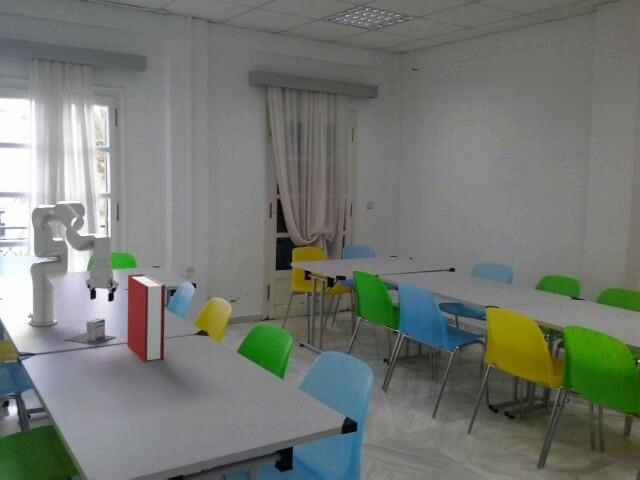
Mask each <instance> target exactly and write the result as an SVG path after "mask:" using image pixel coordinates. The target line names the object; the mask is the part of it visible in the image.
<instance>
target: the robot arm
mask: <svg viewBox="0 0 640 480" xmlns="http://www.w3.org/2000/svg"><path fill="white" fill-rule="evenodd" d="M85 215H86V208H85V206H84V204H83V203H81V202H79V201H59V202H57V203H55V204H54V205H50V204H49V205H48V204H47V205H46V204H45V205H38V206H36V207H34V208H33V210H32V212H31V222H32V223H31V224H32V226H33V252H34V255H35V257H36V258H39V259H45V260H39V261H35V262H34V263H32V264H31V266H30V268H29V269H30V276H31V283H32V312H31V313H29V314H28V315H27V318H28V319H31V320H30V321H29V325H30V326H35V327H45V326H52V325H56V324H57V323H58V319H56V318H55V315H54V314H55V307H54V306H55V305H54V304H55V291H54V285H53V284H52V283H51V281H50V280H54V279H61V278H64V277H66V275H67V274H68V268H69V266H68V265H69V246H68V244H69V245H70V246H71V248H73V249H74V250H75V251H78V252H87V251H93V252H92V254H93V256H92V260H91V263H92V265H91V268H90V271H89V272H90V273H89V278H87V279H86V280H85V284H86V287H87V288H88V291H89V292H90V293H89V295H90V296H89V299H90V300H91V301H92V300H95V299H97V290H96V289H100V290H101V289H103V290H107V291H108V293H107V301H108V302H109V303H110V302H114V300H115V293H116V292H117V290H118V288H119V286H120V283H119V282H118V281H116V280H115V279H114V272H113V271H114V270H113V266H112V239H111V237H110V236H109V235H103V234H100V233H85V234H79V233H78V232H79V231H80V230H81V229H82V228H83V227H84V225H85V220H84V216H85ZM50 223H52V224H53V223H54V224H55V223H56V224H57V223H61V224H62V225H63V226H64V227H65V238H66V240H65V239H63V238H60V237H58V238H57V237H53V236H54V230H53V228H52V225H50ZM67 243H68V244H67ZM49 258H54V259H49Z"/></svg>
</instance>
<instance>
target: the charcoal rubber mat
mask: <svg viewBox="0 0 640 480" xmlns="http://www.w3.org/2000/svg"><path fill="white" fill-rule="evenodd" d="M116 338H117V336H113V335H107V334H105V337H104V338H101V339H99V340H97V341H89V340H87V332H83V333H81V334H78V335H74V336H71V337H68V338H65V339H64V341H66V342H73V341H74V342H75V343H79V342H81V343H80V344H86V343H87V345H94V346H97V345H100V344H102V343H105V342H108V341H110V340H114V339H116Z"/></svg>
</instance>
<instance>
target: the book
mask: <svg viewBox="0 0 640 480" xmlns="http://www.w3.org/2000/svg"><path fill="white" fill-rule="evenodd" d="M165 301H166V284H165V283H163V282H161V281H160V280H158V279H155V278H154V277H152V276H149V275H148V274H143V273H141V274H130V275H127V341H126V342H127V347H128V348H129V350H131V351H132V352H133V353H134V354H135V355H136V356H137V357H138V358H139V359H140V360H142V362H144V363H146V362H147V361H150V360H158V359H159V360H163V361H164V360H165V359H164V357H165V315H166V314H165V311H166V310H165V308H166V307H165V305H166V304H165Z"/></svg>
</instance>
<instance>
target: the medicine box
mask: <svg viewBox="0 0 640 480" xmlns="http://www.w3.org/2000/svg"><path fill="white" fill-rule="evenodd" d="M86 333H87V340H89V341H97V340H99V339H101V338H104V337H105V335H106V320H105V318H94V319H92V320H89V321H87V322H86Z"/></svg>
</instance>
